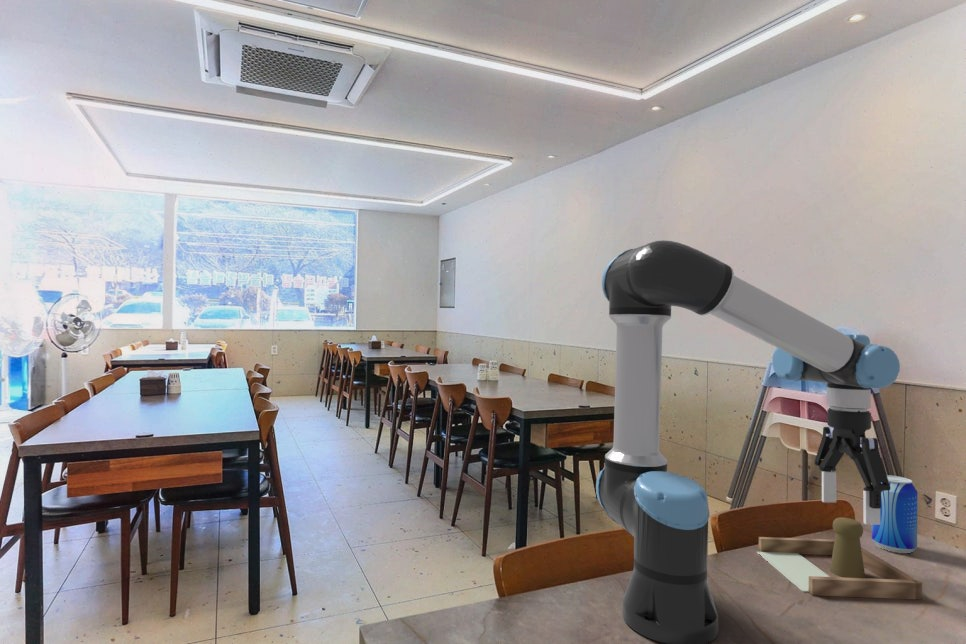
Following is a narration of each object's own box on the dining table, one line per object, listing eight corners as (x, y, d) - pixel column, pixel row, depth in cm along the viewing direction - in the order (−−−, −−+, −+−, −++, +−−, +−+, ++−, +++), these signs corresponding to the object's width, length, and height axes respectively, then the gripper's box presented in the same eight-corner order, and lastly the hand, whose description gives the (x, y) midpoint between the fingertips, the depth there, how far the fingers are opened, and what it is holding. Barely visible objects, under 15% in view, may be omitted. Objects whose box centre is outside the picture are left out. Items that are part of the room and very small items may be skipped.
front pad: (802, 591, 102) (802, 590, 102) (756, 552, 120) (756, 551, 120) (851, 593, 102) (851, 592, 102) (797, 554, 120) (797, 553, 120)
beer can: (877, 538, 131) (878, 472, 131) (921, 549, 125) (921, 479, 125) (866, 546, 126) (867, 477, 126) (911, 558, 119) (912, 485, 120)
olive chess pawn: (871, 581, 107) (871, 525, 107) (837, 578, 108) (838, 522, 109) (856, 568, 113) (857, 515, 113) (824, 565, 114) (825, 513, 115)
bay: (812, 595, 101) (812, 579, 101) (758, 550, 122) (758, 536, 122) (922, 599, 100) (922, 583, 100) (849, 553, 121) (849, 540, 121)
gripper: (913, 418, 99) (914, 535, 99) (830, 401, 124) (830, 494, 123) (871, 417, 99) (872, 534, 99) (797, 400, 124) (797, 493, 124)
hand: (849, 512), depth 111 cm, fingers open, 13 cm apart
